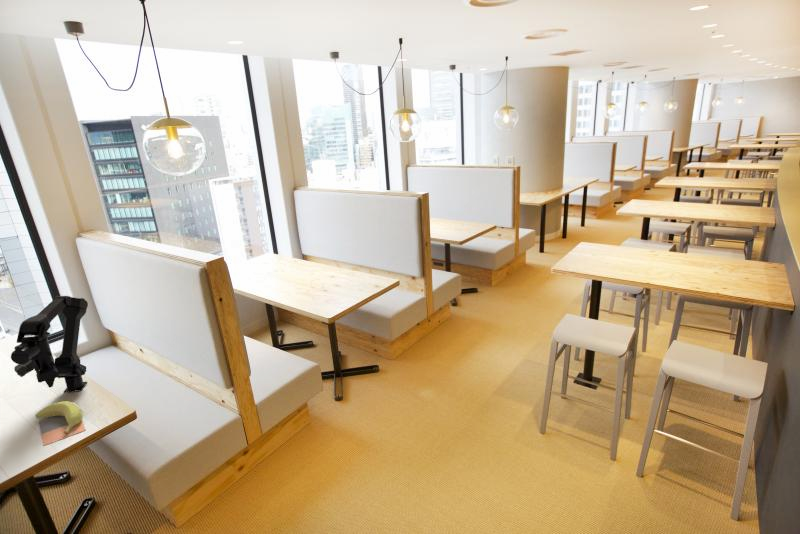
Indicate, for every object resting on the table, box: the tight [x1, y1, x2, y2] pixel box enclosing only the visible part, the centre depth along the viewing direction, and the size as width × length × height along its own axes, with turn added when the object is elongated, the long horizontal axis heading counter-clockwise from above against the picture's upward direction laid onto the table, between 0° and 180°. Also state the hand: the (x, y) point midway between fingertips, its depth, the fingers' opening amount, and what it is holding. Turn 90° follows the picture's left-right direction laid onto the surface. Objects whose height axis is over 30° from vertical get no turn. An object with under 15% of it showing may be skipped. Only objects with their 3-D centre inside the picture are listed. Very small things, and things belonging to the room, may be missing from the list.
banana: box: [35, 400, 84, 434], centre depth 160 cm, size 14×6×20 cm
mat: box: [38, 416, 69, 435], centre depth 162 cm, size 10×12×1 cm
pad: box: [40, 420, 86, 447], centre depth 156 cm, size 8×12×1 cm, turn 133°
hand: (50, 386), depth 168 cm, fingers closed
